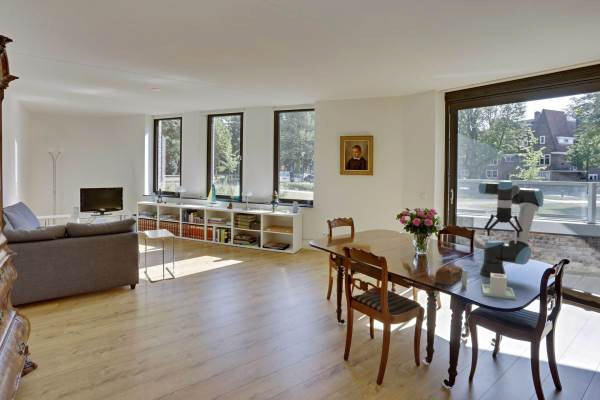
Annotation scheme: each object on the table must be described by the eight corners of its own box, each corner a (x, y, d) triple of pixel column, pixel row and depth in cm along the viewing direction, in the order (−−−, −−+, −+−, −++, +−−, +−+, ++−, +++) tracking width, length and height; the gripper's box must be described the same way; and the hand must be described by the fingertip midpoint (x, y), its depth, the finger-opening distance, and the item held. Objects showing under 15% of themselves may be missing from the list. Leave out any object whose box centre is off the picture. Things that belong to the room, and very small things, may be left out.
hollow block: (489, 289, 225) (490, 272, 224) (504, 291, 222) (505, 274, 221) (490, 293, 218) (491, 276, 217) (506, 295, 215) (507, 278, 214)
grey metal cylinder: (460, 287, 230) (461, 269, 228) (467, 288, 228) (468, 270, 227) (460, 289, 226) (461, 270, 225) (467, 290, 225) (468, 271, 224)
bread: (450, 286, 232) (451, 270, 231) (434, 282, 240) (434, 267, 239) (462, 280, 246) (463, 264, 245) (446, 276, 253) (447, 261, 252)
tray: (481, 287, 231) (481, 284, 230) (511, 290, 224) (511, 287, 224) (483, 295, 216) (483, 292, 216) (515, 299, 210) (515, 296, 210)
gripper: (481, 206, 226) (479, 241, 229) (529, 208, 217) (527, 245, 219) (480, 205, 233) (479, 239, 235) (527, 207, 223) (525, 242, 226)
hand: (502, 242), depth 227 cm, fingers open, 13 cm apart
